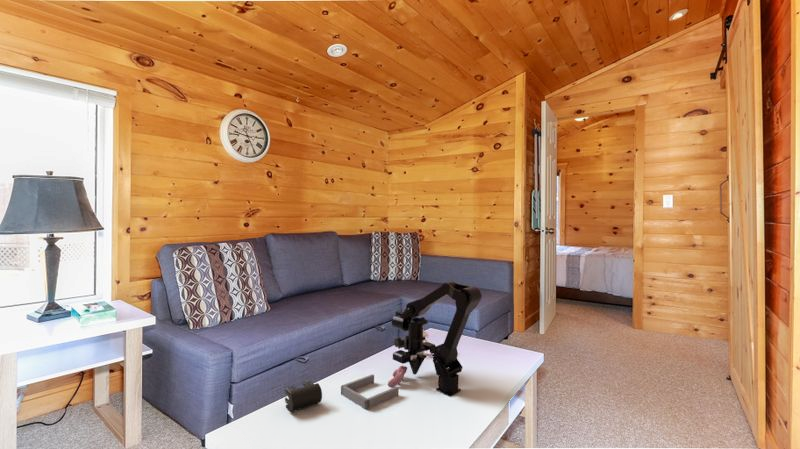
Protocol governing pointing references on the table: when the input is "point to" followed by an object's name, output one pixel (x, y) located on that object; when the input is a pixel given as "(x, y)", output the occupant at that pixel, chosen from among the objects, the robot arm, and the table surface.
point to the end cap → (303, 396)
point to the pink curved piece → (397, 376)
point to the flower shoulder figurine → (425, 337)
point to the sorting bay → (365, 403)
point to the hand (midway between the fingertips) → (414, 374)
